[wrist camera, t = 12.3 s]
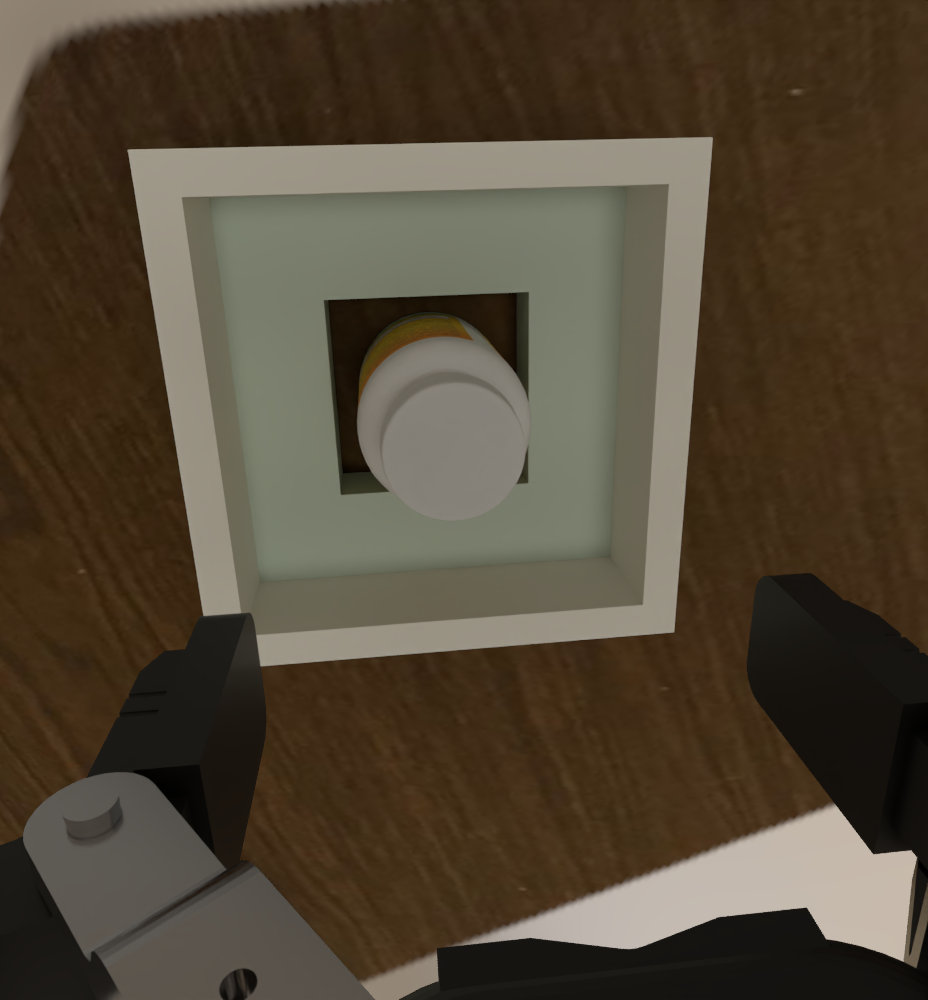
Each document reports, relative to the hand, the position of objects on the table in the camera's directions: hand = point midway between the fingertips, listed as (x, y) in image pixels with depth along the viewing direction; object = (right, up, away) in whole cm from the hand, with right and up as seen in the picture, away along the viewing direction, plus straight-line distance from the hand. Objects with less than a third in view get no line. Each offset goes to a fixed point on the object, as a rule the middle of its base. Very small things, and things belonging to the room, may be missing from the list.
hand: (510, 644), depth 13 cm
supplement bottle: (-2, +7, +18) cm, 20 cm away
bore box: (-2, +7, +18) cm, 19 cm away
